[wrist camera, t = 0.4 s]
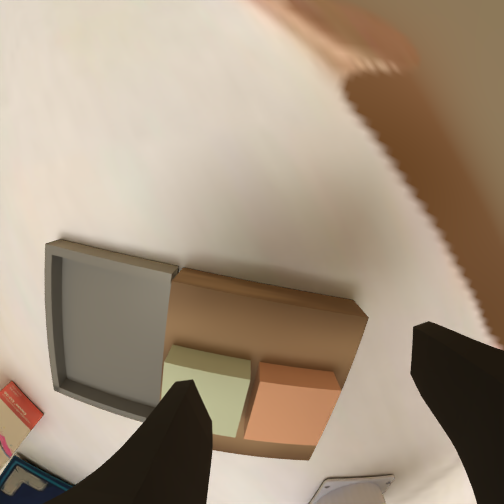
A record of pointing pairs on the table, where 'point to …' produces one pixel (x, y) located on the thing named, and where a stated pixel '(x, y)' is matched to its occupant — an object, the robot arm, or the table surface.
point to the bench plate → (262, 336)
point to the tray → (106, 326)
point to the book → (28, 484)
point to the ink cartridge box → (15, 420)
